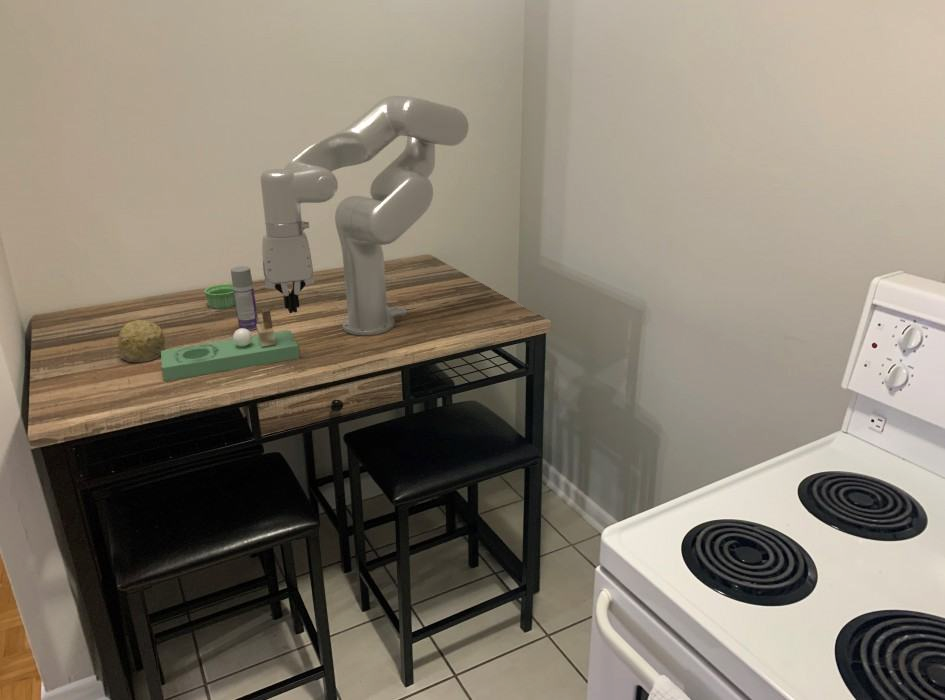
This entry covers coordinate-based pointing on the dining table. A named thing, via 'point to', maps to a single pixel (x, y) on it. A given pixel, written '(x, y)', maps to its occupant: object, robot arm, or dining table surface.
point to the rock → (140, 341)
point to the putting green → (226, 356)
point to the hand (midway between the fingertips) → (292, 310)
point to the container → (244, 297)
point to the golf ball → (242, 337)
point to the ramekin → (220, 296)
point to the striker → (266, 329)
